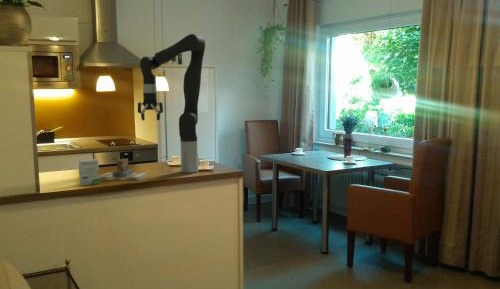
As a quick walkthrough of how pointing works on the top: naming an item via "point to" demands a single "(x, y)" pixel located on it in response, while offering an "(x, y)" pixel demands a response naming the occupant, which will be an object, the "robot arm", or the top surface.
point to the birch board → (131, 177)
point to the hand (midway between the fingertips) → (150, 120)
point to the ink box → (89, 172)
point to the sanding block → (122, 169)
